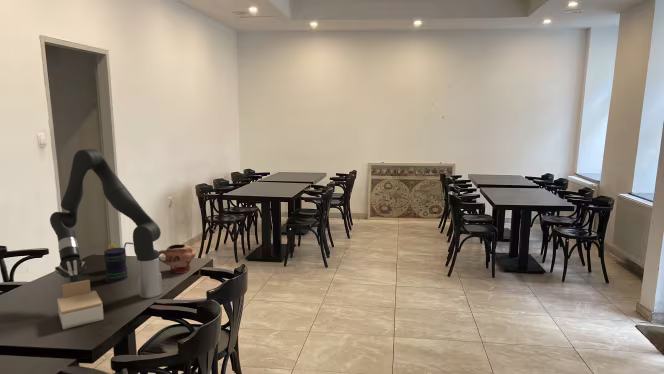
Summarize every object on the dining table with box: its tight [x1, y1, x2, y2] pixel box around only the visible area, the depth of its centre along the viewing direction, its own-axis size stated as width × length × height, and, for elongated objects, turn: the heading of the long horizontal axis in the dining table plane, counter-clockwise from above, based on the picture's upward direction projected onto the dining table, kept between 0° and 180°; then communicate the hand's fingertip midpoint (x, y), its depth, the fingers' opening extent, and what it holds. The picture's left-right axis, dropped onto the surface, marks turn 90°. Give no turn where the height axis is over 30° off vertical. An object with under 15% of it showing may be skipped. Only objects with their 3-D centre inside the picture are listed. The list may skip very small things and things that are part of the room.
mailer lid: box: [56, 279, 103, 314], centre depth 175 cm, size 14×16×6 cm
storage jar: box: [103, 247, 128, 283], centre depth 220 cm, size 10×10×15 cm
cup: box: [106, 241, 134, 252], centre depth 234 cm, size 14×8×15 cm, turn 95°
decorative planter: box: [158, 243, 197, 274], centre depth 231 cm, size 20×12×14 cm, turn 103°
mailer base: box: [57, 303, 105, 330], centre depth 176 cm, size 14×16×6 cm
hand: (75, 284), depth 184 cm, fingers closed
